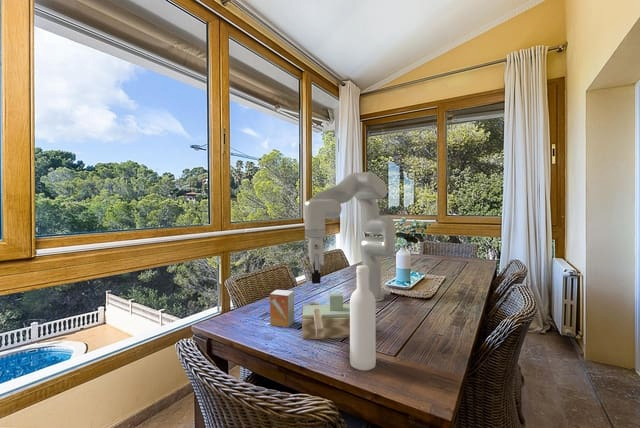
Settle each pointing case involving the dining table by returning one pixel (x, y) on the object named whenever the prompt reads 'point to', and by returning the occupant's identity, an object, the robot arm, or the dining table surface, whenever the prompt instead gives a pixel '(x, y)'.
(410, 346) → the dining table surface
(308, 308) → the lid
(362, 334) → the bottle
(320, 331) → the key
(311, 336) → the toolbox
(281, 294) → the small box
